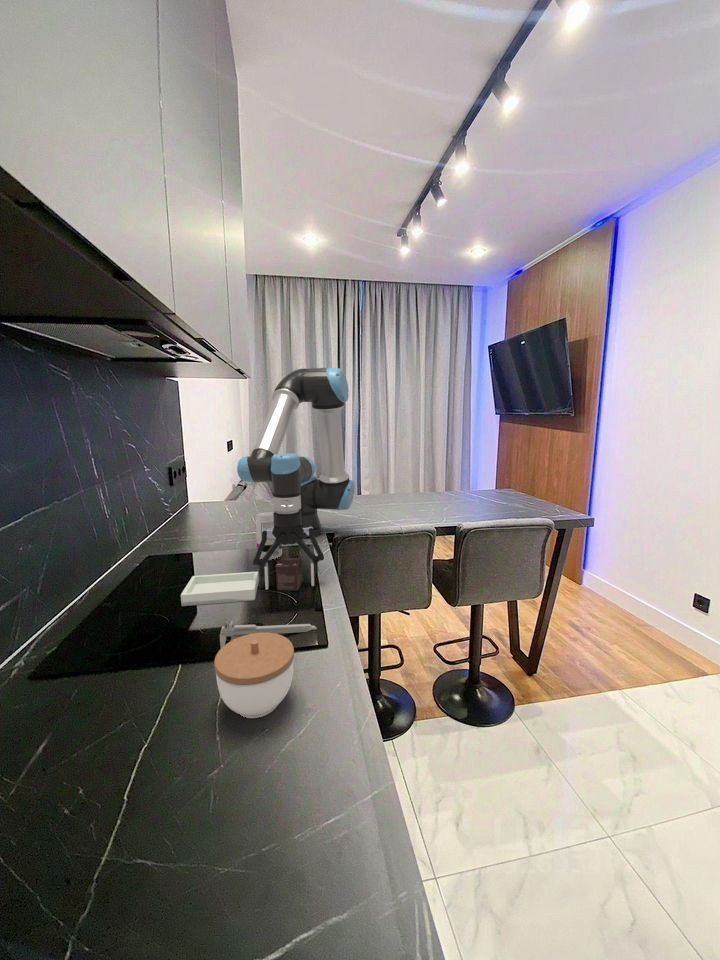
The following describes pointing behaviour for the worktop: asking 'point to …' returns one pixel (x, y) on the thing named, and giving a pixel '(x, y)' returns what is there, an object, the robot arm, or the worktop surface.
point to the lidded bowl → (255, 673)
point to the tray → (220, 588)
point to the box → (289, 574)
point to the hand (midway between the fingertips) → (290, 585)
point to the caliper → (259, 630)
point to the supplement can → (267, 522)
